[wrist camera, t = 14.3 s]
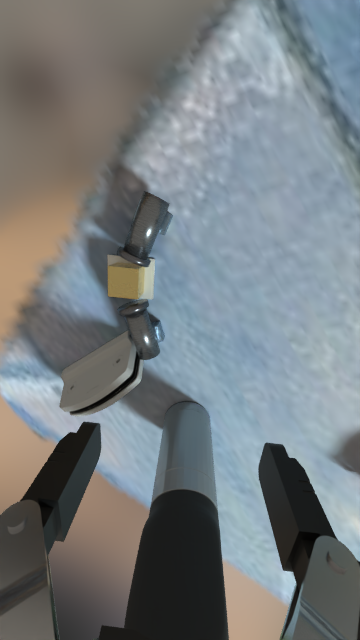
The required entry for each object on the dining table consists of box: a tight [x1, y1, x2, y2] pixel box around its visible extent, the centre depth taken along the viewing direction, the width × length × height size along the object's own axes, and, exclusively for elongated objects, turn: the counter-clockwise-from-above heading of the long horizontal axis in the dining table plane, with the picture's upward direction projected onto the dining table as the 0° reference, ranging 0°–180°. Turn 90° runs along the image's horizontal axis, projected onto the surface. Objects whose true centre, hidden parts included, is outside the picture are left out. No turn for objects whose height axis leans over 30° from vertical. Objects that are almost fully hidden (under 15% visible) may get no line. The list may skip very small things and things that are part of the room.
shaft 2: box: [117, 299, 165, 360], centre depth 39 cm, size 9×5×6 cm, turn 15°
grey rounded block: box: [60, 330, 144, 417], centre depth 42 cm, size 17×5×10 cm, turn 123°
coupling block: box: [108, 262, 145, 299], centre depth 37 cm, size 4×4×4 cm
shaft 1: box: [117, 191, 173, 267], centre depth 34 cm, size 9×5×6 cm, turn 155°
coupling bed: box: [108, 255, 155, 299], centre depth 39 cm, size 7×8×1 cm
